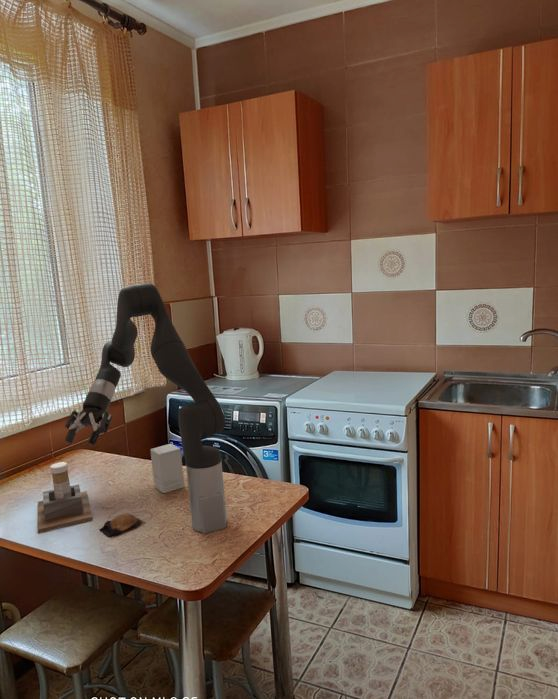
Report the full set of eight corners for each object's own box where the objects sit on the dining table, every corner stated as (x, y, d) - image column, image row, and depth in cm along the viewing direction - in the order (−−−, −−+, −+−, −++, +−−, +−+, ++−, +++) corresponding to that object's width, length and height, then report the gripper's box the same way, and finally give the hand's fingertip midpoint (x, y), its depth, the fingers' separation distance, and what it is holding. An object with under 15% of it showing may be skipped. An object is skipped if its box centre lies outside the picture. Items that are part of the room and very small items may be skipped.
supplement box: (185, 487, 172) (181, 448, 169) (162, 494, 167) (158, 454, 165) (175, 480, 178) (171, 442, 176) (153, 486, 174) (149, 448, 172)
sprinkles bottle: (70, 503, 163) (64, 460, 161) (75, 508, 159) (69, 464, 157) (54, 508, 160) (48, 464, 158) (59, 513, 157) (53, 468, 154)
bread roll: (131, 517, 155) (129, 504, 154) (147, 525, 149) (146, 512, 148) (96, 532, 147) (94, 519, 147) (112, 541, 142) (110, 528, 141)
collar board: (92, 519, 153) (90, 501, 152) (38, 532, 148) (35, 513, 147) (86, 494, 172) (84, 477, 171) (38, 504, 166) (35, 487, 165)
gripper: (74, 390, 174) (53, 436, 165) (111, 391, 169) (91, 439, 160) (88, 402, 180) (68, 447, 171) (124, 403, 175) (105, 450, 166)
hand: (79, 443), depth 166 cm, fingers open, 8 cm apart
